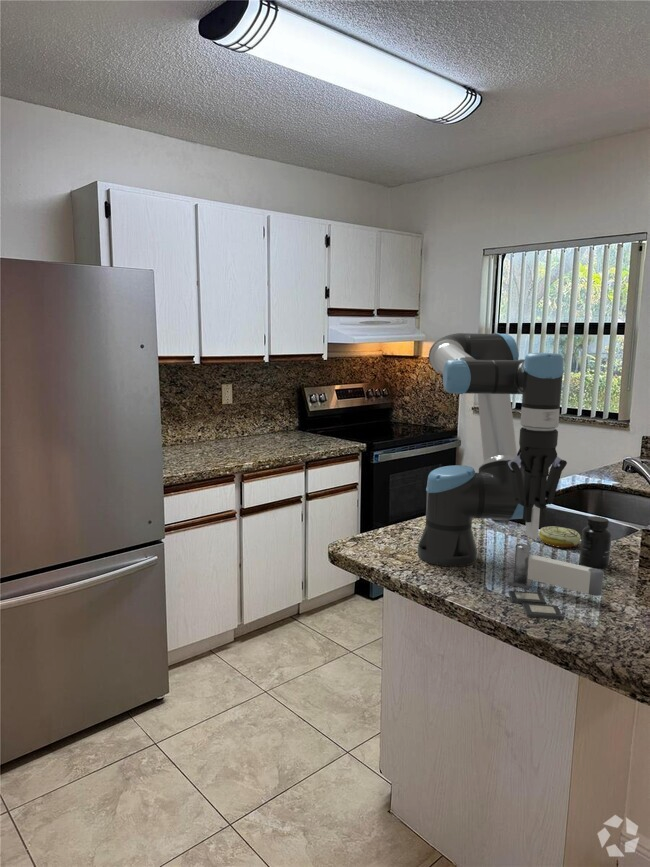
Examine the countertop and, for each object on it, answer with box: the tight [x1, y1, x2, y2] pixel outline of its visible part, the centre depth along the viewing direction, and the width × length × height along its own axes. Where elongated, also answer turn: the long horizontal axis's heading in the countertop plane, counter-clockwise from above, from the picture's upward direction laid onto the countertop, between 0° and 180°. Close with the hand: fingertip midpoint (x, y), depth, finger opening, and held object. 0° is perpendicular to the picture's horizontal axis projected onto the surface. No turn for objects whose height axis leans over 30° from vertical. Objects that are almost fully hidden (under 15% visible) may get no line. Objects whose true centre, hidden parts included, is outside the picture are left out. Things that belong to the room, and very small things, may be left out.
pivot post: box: [506, 543, 534, 590], centre depth 140 cm, size 5×5×9 cm
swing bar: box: [527, 554, 605, 597], centre depth 134 cm, size 16×3×5 cm, turn 54°
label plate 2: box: [522, 603, 564, 620], centre depth 126 cm, size 7×5×1 cm
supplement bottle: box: [579, 515, 613, 570], centre depth 151 cm, size 7×7×12 cm
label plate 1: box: [508, 590, 547, 605], centre depth 132 cm, size 7×5×1 cm
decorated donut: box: [538, 525, 582, 548], centre depth 168 cm, size 10×11×4 cm
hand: (531, 535), depth 130 cm, fingers closed
